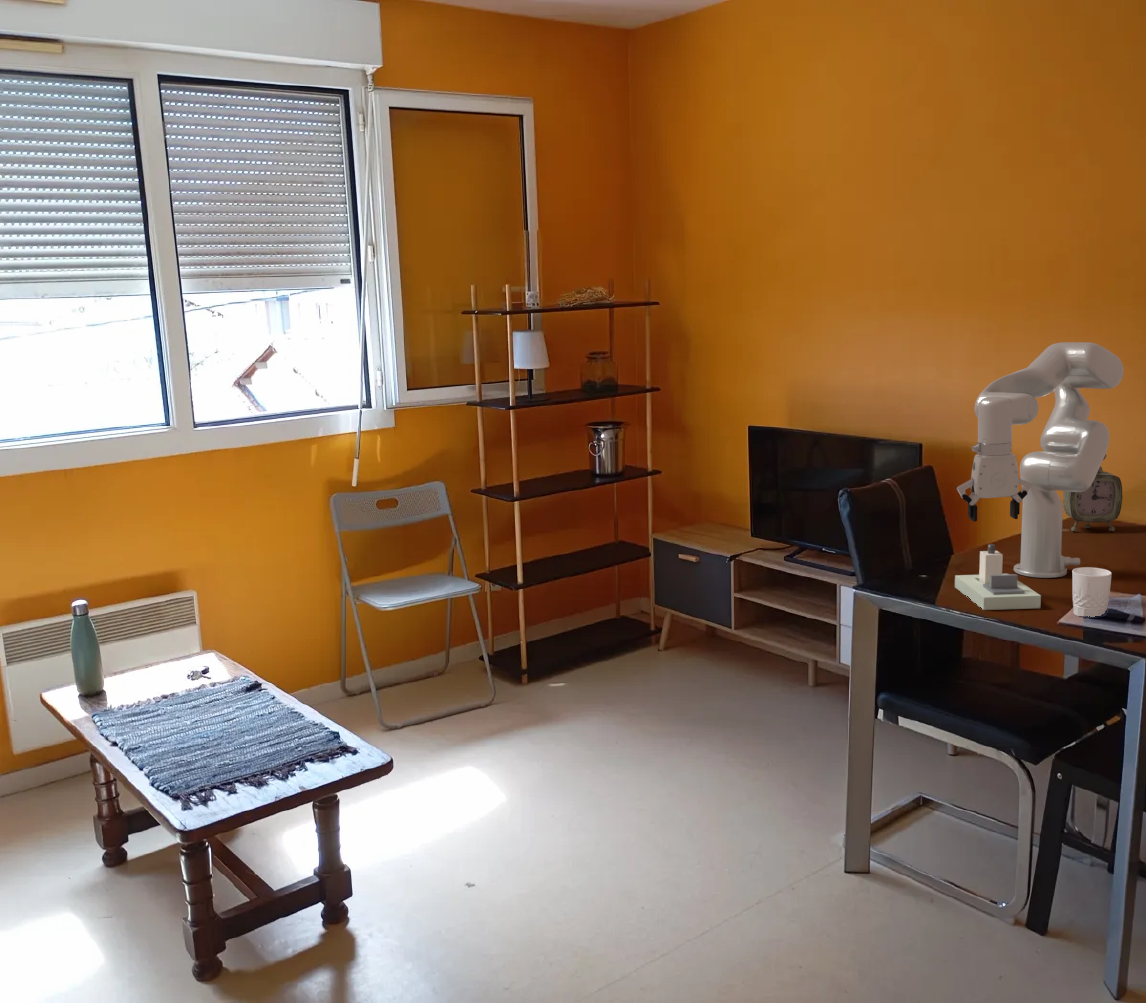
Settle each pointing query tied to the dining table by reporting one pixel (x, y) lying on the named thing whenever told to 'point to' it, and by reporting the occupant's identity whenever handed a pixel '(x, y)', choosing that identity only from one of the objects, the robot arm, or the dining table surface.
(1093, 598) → the white cup
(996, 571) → the plug
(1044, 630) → the dining table surface
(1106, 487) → the tabletop clock
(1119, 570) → the dining table surface
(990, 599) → the socket board
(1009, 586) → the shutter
